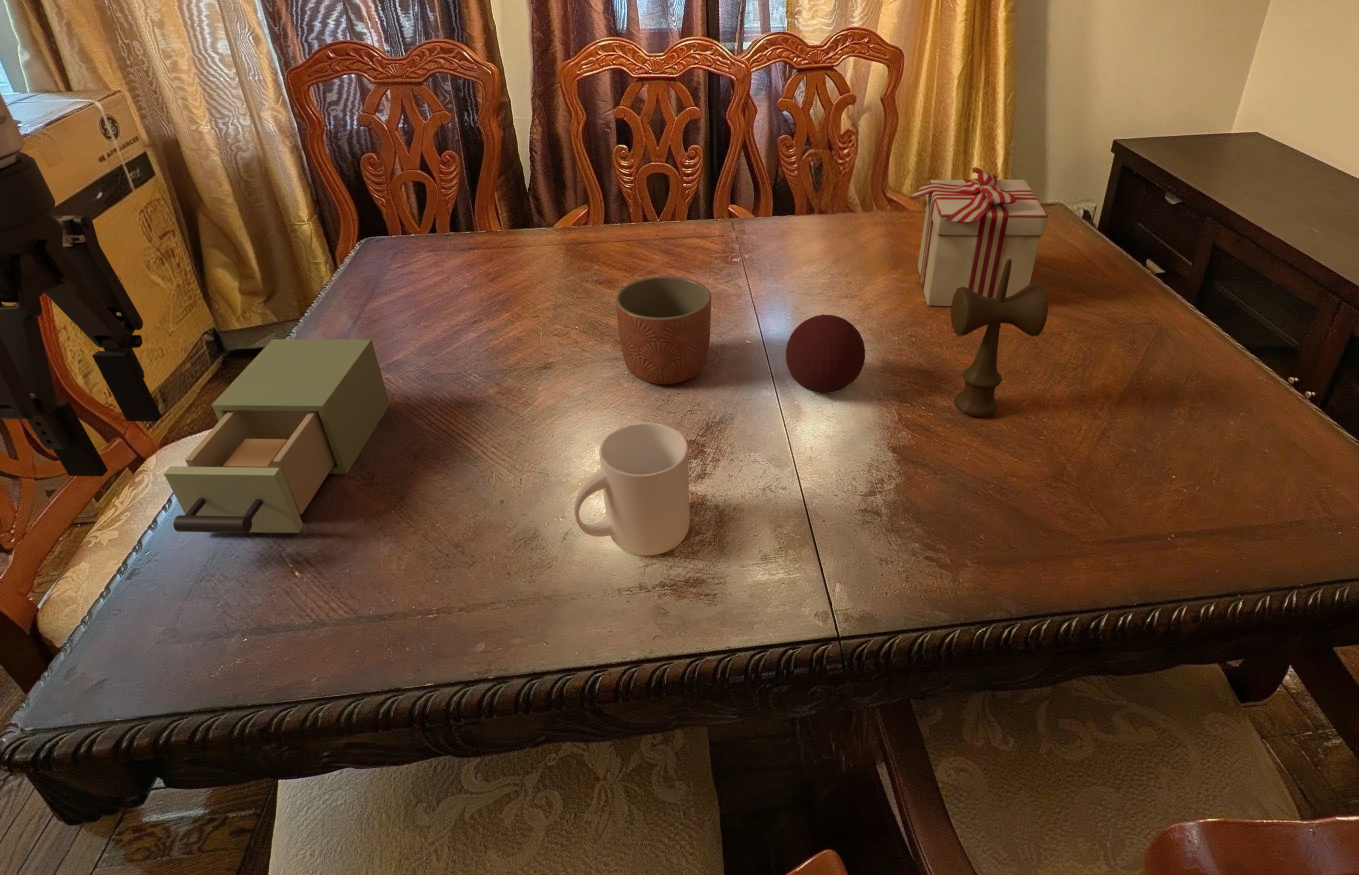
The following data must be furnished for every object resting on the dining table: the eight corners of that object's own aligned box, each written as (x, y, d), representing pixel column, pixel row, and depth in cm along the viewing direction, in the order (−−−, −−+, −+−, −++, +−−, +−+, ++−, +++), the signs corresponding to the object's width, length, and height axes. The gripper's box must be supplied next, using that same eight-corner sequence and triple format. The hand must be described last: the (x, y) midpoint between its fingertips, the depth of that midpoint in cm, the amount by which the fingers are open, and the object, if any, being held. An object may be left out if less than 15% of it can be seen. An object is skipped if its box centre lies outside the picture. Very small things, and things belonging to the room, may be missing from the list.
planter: (702, 397, 104) (702, 322, 97) (610, 389, 106) (603, 315, 99) (718, 349, 113) (718, 278, 107) (633, 342, 116) (628, 272, 109)
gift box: (891, 267, 134) (905, 163, 124) (1003, 266, 133) (1027, 162, 123) (910, 315, 120) (928, 203, 110) (1035, 314, 119) (1065, 201, 109)
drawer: (280, 562, 80) (253, 503, 75) (170, 560, 81) (137, 502, 76) (348, 454, 94) (329, 399, 90) (254, 453, 95) (231, 398, 90)
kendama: (1021, 421, 98) (1064, 269, 86) (942, 423, 98) (974, 271, 86) (1005, 394, 102) (1043, 246, 91) (929, 396, 103) (958, 248, 91)
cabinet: (347, 474, 93) (323, 405, 87) (241, 472, 93) (211, 404, 88) (390, 403, 104) (371, 339, 99) (296, 403, 105) (272, 338, 99)
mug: (565, 528, 84) (553, 446, 78) (668, 493, 88) (664, 413, 82) (595, 581, 78) (584, 497, 72) (704, 541, 82) (703, 459, 76)
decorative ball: (858, 413, 100) (867, 343, 94) (778, 403, 102) (782, 334, 96) (863, 371, 108) (871, 304, 102) (789, 363, 110) (793, 297, 104)
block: (281, 501, 86) (266, 466, 83) (238, 500, 86) (222, 465, 83) (301, 473, 90) (287, 439, 87) (259, 472, 90) (245, 438, 87)
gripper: (-111, 218, 44) (83, 527, 58) (111, 120, 60) (222, 381, 74) (-238, 219, 45) (-15, 525, 58) (16, 122, 60) (144, 380, 74)
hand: (117, 444), depth 66 cm, fingers open, 7 cm apart
